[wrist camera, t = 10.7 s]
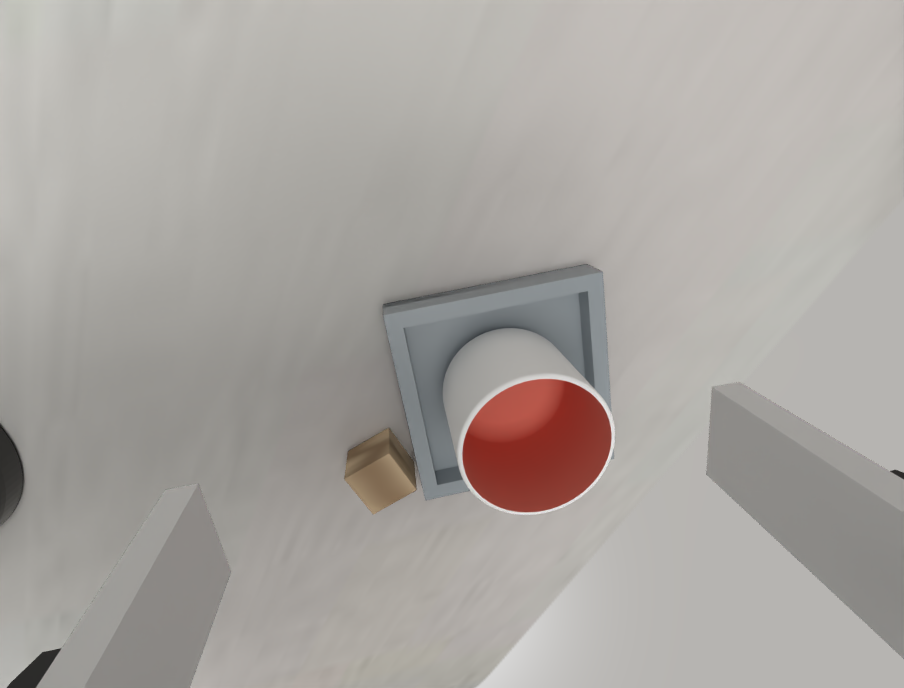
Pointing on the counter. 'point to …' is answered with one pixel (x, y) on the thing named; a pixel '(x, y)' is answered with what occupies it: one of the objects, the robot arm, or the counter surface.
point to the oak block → (380, 471)
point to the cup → (525, 423)
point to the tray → (474, 313)
